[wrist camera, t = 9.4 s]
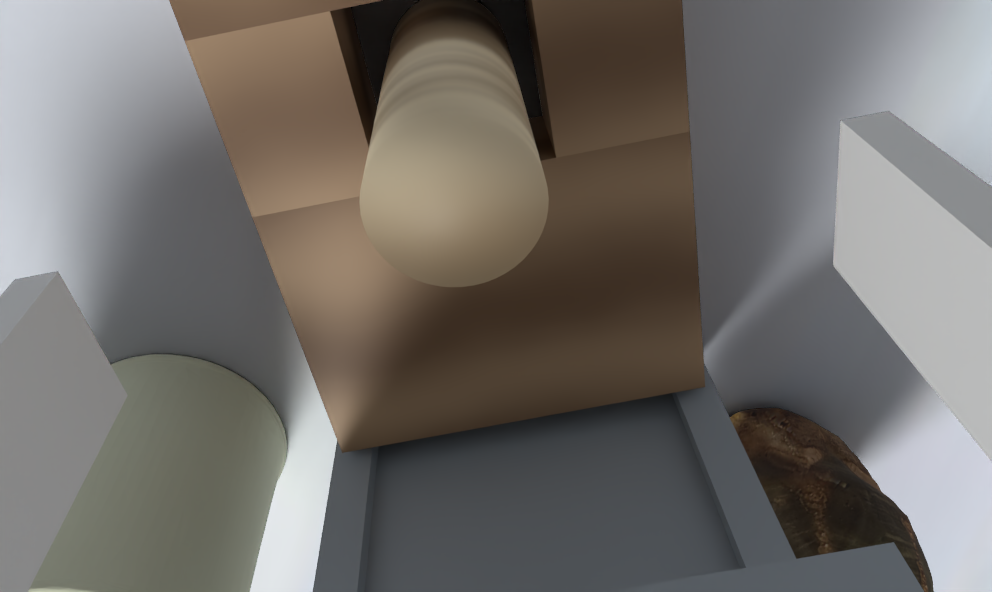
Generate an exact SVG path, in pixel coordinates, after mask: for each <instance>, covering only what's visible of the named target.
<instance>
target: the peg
mask: <svg viewBox="0 0 992 592" xmlns="http://www.w3.org/2000/svg"><path fill="white" fill-rule="evenodd" d="M548 202H549V197H548V187H547V183H546V179H545V175H544V172H543V168H542V165H541V161H540V158H539V154H538V150H537V147H536V143H535V140H534V136H533V133H532V129H531V126H530V122H529V118H528V115H527V111H526V108H525V104H524V101H523V97H522V94H521V90H520V86H519V83H518V79H517V76H516V72H515V69H514V65H513V62H512V58H511V54H510V51H509V47H508V44H507V40H506V37H505V34H504V31H503V29H502V27H501V25H500V23H499V22H498V20H497V19H496V18H495V16H494V15H493V14H492V13H491V12H490V11H489V10H488V9H487V8H486V7H484V6H483V5H482V4H480V3H479V2H477V1H475V0H421V1H420V2H418V3H416V4H415V5H413V6H412V7H411V8H410V9H409V10H407V12H406V13H405V14H404V15H403V16H402V17H401V19H400V20H399V22H398V24H397V26H396V27H395V30H394V32H393V35H392V39H391V44H390V49H389V54H388V58H387V63H386V68H385V73H384V78H383V82H382V87H381V92H380V97H379V102H378V107H377V111H376V116H375V121H374V126H373V131H372V136H371V140H370V145H369V150H368V155H367V160H366V165H365V169H364V174H363V179H362V184H361V189H360V201H359V203H360V214H361V218H362V222H363V226H364V228H365V231H366V234H367V236H368V238H369V239H370V241H371V243H372V245H373V246H374V247H375V249H376V250H377V252H378V253H379V254H380V255H381V256H382V257H383V258H384V259H385V260H386V261H387V262H388V263H389V264H390V265H391V266H393V267H394V268H395V269H397V270H398V271H400V272H401V273H403V274H405V275H406V276H408V277H411V278H413V279H415V280H417V281H420V282H423V283H426V284H431V285H435V286H442V287H466V286H473V285H477V284H481V283H485V282H488V281H490V280H493V279H496V278H498V277H499V276H501V275H503V274H505V273H507V272H508V271H510V270H511V269H513V268H514V267H516V266H517V265H518V264H519V263H520V262H521V261H522V260H524V258H525V257H526V256H527V255H528V254H529V253H530V252H531V250H532V249H533V248H534V246H535V245H536V243H537V242H538V240H539V238H540V236H541V234H542V232H543V229H544V226H545V223H546V219H547V213H548Z"/></svg>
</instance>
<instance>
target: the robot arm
mask: <svg viewBox="0 0 992 592" xmlns="http://www.w3.org/2000/svg"><path fill="white" fill-rule="evenodd" d="M833 266H834V267H835V269H836V270H837V271H838V272H839V274H840V275H841V276H842V277H843V278H844V280H845V281H846V282H847V283H848V285H849V286H850V287H851V288H852V290H853V291H854V292H855V293H856V295H857V296H858V297H859V298H860V299H861V301H862V302H863V303H864V304H865V306H866V307H867V308H868V309H869V311H870V312H871V313H872V314H873V316H874V317H875V318H876V319H877V320H878V322H879V323H880V324H881V325H882V327H883V328H884V329H885V330H886V332H887V333H888V334H889V335H890V337H891V338H892V339H893V340H894V341H895V343H896V344H897V345H898V346H899V348H900V349H901V350H902V351H903V353H904V354H905V355H906V356H907V358H908V359H909V360H910V361H911V363H912V364H913V365H914V366H915V367H916V369H917V370H918V371H919V372H920V374H921V375H922V376H923V377H924V379H925V380H926V381H927V382H928V384H929V385H930V386H931V387H932V388H933V390H934V391H935V392H936V393H937V395H938V396H939V397H940V398H941V400H942V401H943V402H944V403H945V405H946V406H947V407H948V408H949V409H950V411H951V412H952V413H953V414H954V416H955V417H956V418H957V419H958V421H959V422H960V423H961V424H962V426H963V427H964V428H965V429H966V430H967V432H968V433H969V434H970V435H971V437H972V438H973V439H974V440H975V442H976V443H977V444H978V445H979V447H980V448H981V449H982V450H983V451H984V453H985V454H986V455H987V456H988V458H989V459H990V460H991V461H992V187H991V186H990V185H988V184H987V183H986V182H984V181H983V180H982V179H980V178H979V177H978V176H976V175H975V174H973V173H972V172H971V171H969V170H968V169H967V168H965V167H964V166H963V165H961V164H960V163H959V162H957V161H956V160H954V159H953V158H952V157H950V156H949V155H948V154H946V153H945V152H944V151H942V150H941V149H940V148H938V147H937V146H935V145H934V144H933V143H931V142H930V141H929V140H927V139H926V138H925V137H923V136H922V135H921V134H919V133H918V132H917V131H915V130H914V129H912V128H911V127H910V126H908V125H907V124H906V123H904V122H903V121H902V120H900V119H899V118H898V117H896V116H895V115H893V114H892V113H891V112H889V111H886V112H880V113H875V114H870V115H865V116H860V117H855V118H849V119H844V120H841V121H840V140H839V159H838V178H837V197H836V216H835V236H834V255H833ZM127 396H128V395H127V393H126V391H125V390H124V388H123V386H122V384H121V382H120V381H119V379H118V377H117V375H116V374H115V372H114V370H113V368H112V366H111V365H110V363H109V361H108V359H107V357H106V356H105V354H104V352H103V350H102V349H101V347H100V345H99V343H98V341H97V340H96V338H95V336H94V334H93V333H92V331H91V329H90V327H89V325H88V324H87V322H86V320H85V318H84V317H83V315H82V313H81V311H80V309H79V308H78V306H77V304H76V302H75V301H74V299H73V297H72V295H71V293H70V292H69V290H68V288H67V286H66V284H65V283H64V281H63V279H62V277H61V276H60V274H59V272H58V271H56V272H51V273H46V274H41V275H36V276H30V277H25V278H20V279H15V280H14V281H13V282H12V283H11V284H10V286H9V287H8V288H7V289H6V290H5V291H4V293H3V294H2V295H1V296H0V592H28V590H29V588H30V586H31V584H32V582H33V580H34V579H35V577H36V575H37V573H38V571H39V569H40V567H41V565H42V563H43V561H44V559H45V557H46V555H47V553H48V551H49V549H50V547H51V545H52V543H53V541H54V539H55V537H56V535H57V533H58V531H59V529H60V527H61V525H62V524H63V522H64V520H65V518H66V516H67V514H68V512H69V510H70V508H71V506H72V504H73V502H74V500H75V498H76V496H77V494H78V492H79V490H80V488H81V486H82V484H83V482H84V480H85V478H86V476H87V474H88V472H89V470H90V469H91V467H92V465H93V463H94V461H95V459H96V457H97V455H98V453H99V451H100V449H101V447H102V445H103V443H104V441H105V439H106V437H107V435H108V433H109V431H110V429H111V427H112V425H113V423H114V421H115V419H116V417H117V415H118V413H119V412H120V410H121V408H122V406H123V404H124V402H125V400H126V398H127Z"/></svg>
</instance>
